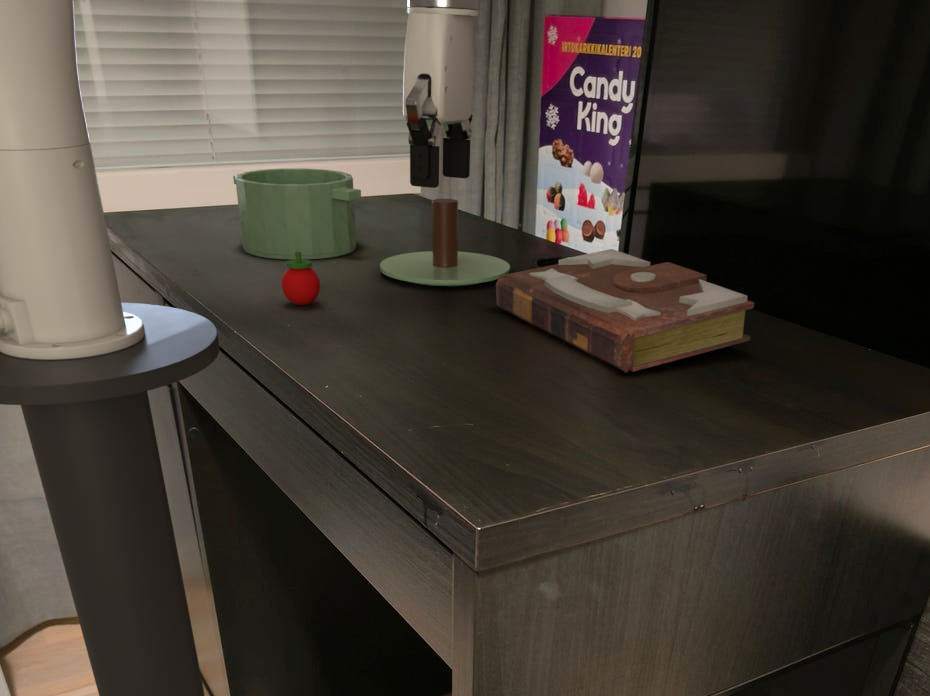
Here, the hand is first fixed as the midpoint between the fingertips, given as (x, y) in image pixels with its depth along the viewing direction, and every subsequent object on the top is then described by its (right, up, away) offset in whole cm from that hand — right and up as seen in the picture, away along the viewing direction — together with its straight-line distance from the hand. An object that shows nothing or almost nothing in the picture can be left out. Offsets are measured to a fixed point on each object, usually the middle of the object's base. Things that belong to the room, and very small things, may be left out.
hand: (440, 181), depth 104 cm
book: (+18, -21, -12) cm, 31 cm away
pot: (-19, 0, +17) cm, 26 cm away
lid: (0, -8, +6) cm, 10 cm away
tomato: (-14, -16, -7) cm, 23 cm away
